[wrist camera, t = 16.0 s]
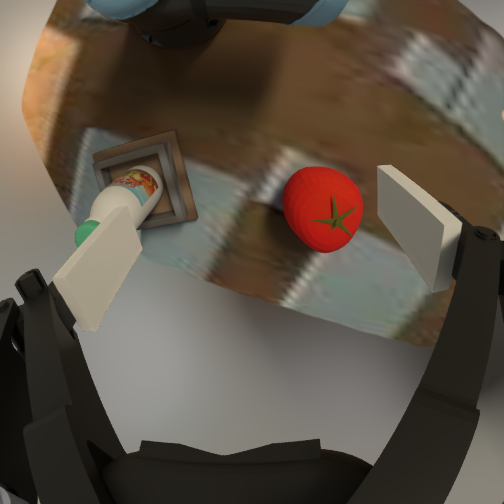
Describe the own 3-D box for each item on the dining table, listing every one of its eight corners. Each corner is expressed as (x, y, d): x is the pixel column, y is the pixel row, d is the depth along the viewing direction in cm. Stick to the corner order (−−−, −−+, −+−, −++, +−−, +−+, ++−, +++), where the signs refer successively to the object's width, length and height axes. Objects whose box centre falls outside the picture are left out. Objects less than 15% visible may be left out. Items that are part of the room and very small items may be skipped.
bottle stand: (95, 153, 47) (84, 159, 44) (175, 129, 45) (169, 133, 42) (121, 231, 55) (113, 241, 52) (198, 216, 53) (194, 227, 50)
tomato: (285, 235, 55) (290, 271, 45) (277, 161, 48) (281, 183, 38) (351, 228, 54) (369, 262, 44) (350, 155, 47) (373, 175, 37)
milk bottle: (171, 196, 50) (129, 259, 33) (136, 212, 52) (85, 276, 35) (152, 156, 47) (95, 202, 30) (116, 175, 48) (53, 227, 31)
